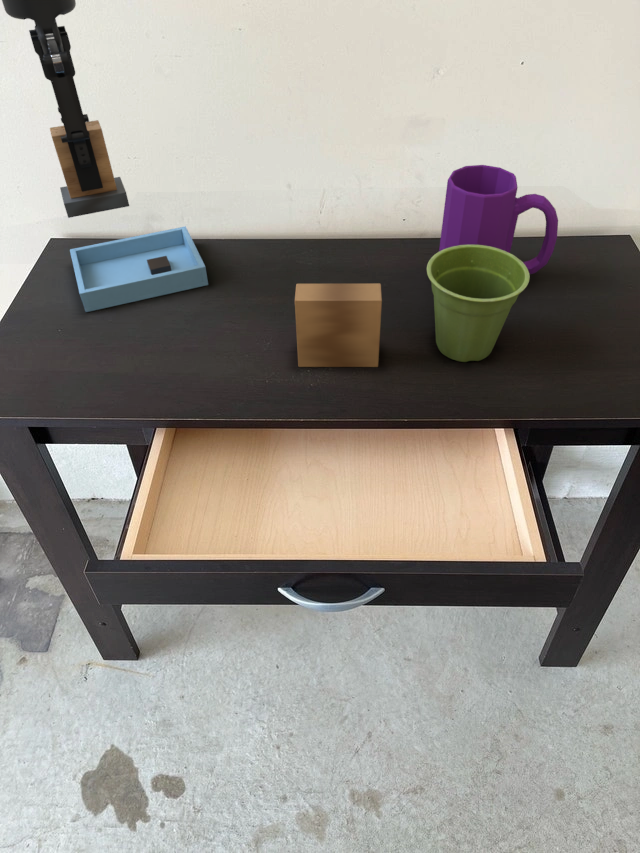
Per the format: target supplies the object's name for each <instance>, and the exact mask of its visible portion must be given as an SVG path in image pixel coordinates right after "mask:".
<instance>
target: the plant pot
mask: <svg viewBox="0 0 640 853" xmlns="http://www.w3.org/2000/svg"><path fill="white" fill-rule="evenodd" d="M523 262H524V261H522V260H521V259H520V258H518V257H517V256H516V255H514V254H513V253H511V252H510V253H508V252H506V251H504V250H501V249H498V248H494V247H490V246H484V245H458V246H453V247H449V248H446V249H444V250H441V251H439V250H438V251H437V252H436V253H434V255H432V256H431V257H430V259H429V260H428V262H427V264H426V275H427V277H428V279H429V281H430V283H431V284H430V285H431V292H432V295H433V307H434V308H433V310H434V323H435V324H434V327H435V328H434V330H435V344H436V346H437V349H438V350H439V352H440V353H441V354H442V355H443V356H445V357H447V358H448V359H451V360H454V361H456V362H460V363H467V362H474V361H475V362H479V361H482V360H484V359H487V357H489V356H490V355H491V353H492V351H493V349H494V347H495V345H496V342H497V340H498V338H499V336H500V334H501V331H502V329H503V326H504V325H505V323H506V321H507V318H508V316H509V313H510V312H511V310H512V308H513V305H515V303H516V302H517V299H518V297H519V296H520V294H521V293H522V292H524V291H525V289H526V288H527V287H528V285H529V282H530V279H531V278H530V275H531V274H530V275H529V271H528V269H527V267H526V266H525V264H524V263H523Z"/></svg>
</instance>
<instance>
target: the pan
mask: <svg viewBox="0 0 640 853" xmlns="http://www.w3.org/2000/svg"><path fill="white" fill-rule="evenodd" d="M69 253H70V257H71V261H72V262H71V263H72V267H73V271H74V274H75V279H76V280H75V281H76V284H77V288H78V293H79V296H80V299H81V303H82V305H83V308H84V312H85V313H89V312H94V311H98V310H103V309H106V308H107V309H108V308H112V307H116V306H121V305H124V304H129V303H134V302H139V301H143V300H147V299H151V298H156V297H162V296H166V295H170V294H174V293H179V292H183V291H188V290H192V289H197V288H201V287H205V286H209V281H208V279H209V278H208V275H207V267H206V265H205V263H204V261H203V258H202V256H201V254H200V253H199V250H198V248H197V246H196V245H195V242H194V240H193V238H192V235H191V234H190V232H189V230H188V228H187V226H186V225H185V226H181V227H180V226H179V227H176V228H170V229H165V230H160V231H155V232H149V233H145V234H140V235H136V236H129V237H125V238H120V239H115V240H110V241H104V242H100V243H95V244H91V245H85V246H80V247H75V248H70V249H69ZM162 256H167V258H168V261H169V263H170V265H171V270H172V271H169V272H164V273H160V274H155V275H151V272H150V269H149V267H148V263H147V260H148V259H153V258H158V257H162Z"/></svg>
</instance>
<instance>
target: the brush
mask: <svg viewBox="0 0 640 853" xmlns="http://www.w3.org/2000/svg"><path fill="white" fill-rule="evenodd" d="M85 124H86V127H87V130H88V131H89V134H90V135H89V137H90V141H91V144H92V148H93V152H94V156H95V159H96V163H97V167H98V170H99V174H100V178H101V182H102V185H103V188H100V189H94V190H89V191H83V192H82V190H81V187H80V183H79V180H78V176H77V173H76V170H75V166H74V163H73V159H72V156H71V153H70V149H69V146H68V142H65V143H62V140H61V136H66V131H65V128H64V125H59V126H53V127H49V131H50V135H51V139H52V142H53V146H54V149H55V152H56V155H57V156H56V157H57V159H58V161H59V165H60V168H61V171H62V172H61V173H62V175H63V178H64V182H65V184H66V186H61V187H59V188H60V193H61V197H62V201H63V206H64V209H65V212H66V214H67V218H68V219H71V218H75V217H79V216H80V217H81V216H86V215H90V214H91V215H92V214H95V213H100V212H101V213H103V212H106V211H107V212H108V211H111V210H117V209H123V208H127V207H130V202H129V198H128V195H127V191H126V188H125V186H124V183H123V181H122V177H121V176H117V177H115V176H114V172H113V169H112V165H111V160H110V156H109V153H108V148H107V144H106V140H105V137H104V133H103V129H102V126H101V124H100V121H99V119H98V120H97V119H96V120H89V122H85Z"/></svg>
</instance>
